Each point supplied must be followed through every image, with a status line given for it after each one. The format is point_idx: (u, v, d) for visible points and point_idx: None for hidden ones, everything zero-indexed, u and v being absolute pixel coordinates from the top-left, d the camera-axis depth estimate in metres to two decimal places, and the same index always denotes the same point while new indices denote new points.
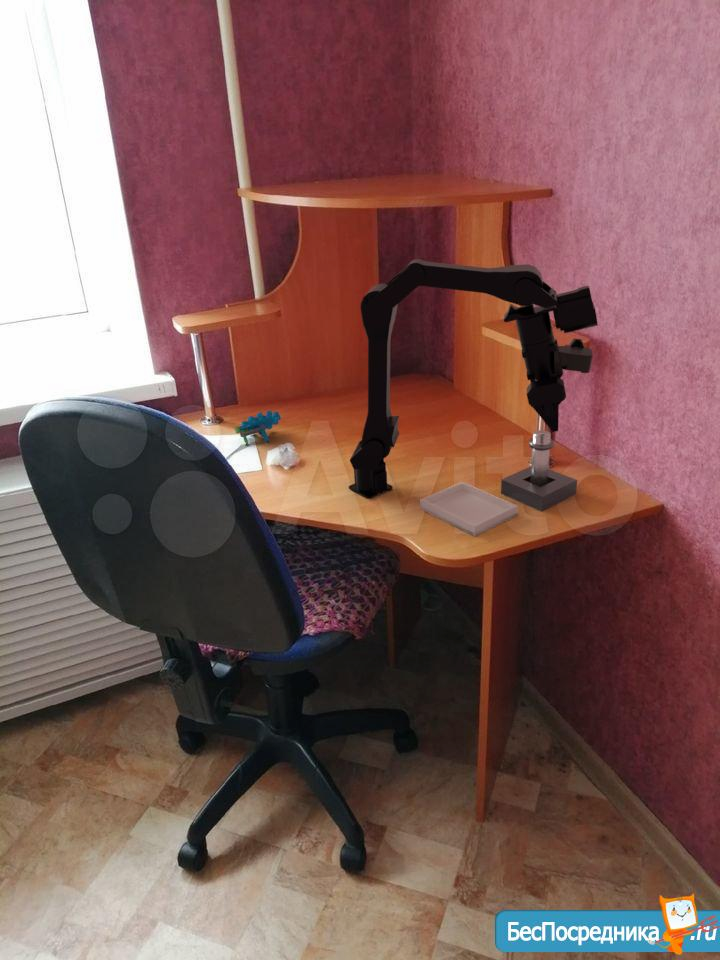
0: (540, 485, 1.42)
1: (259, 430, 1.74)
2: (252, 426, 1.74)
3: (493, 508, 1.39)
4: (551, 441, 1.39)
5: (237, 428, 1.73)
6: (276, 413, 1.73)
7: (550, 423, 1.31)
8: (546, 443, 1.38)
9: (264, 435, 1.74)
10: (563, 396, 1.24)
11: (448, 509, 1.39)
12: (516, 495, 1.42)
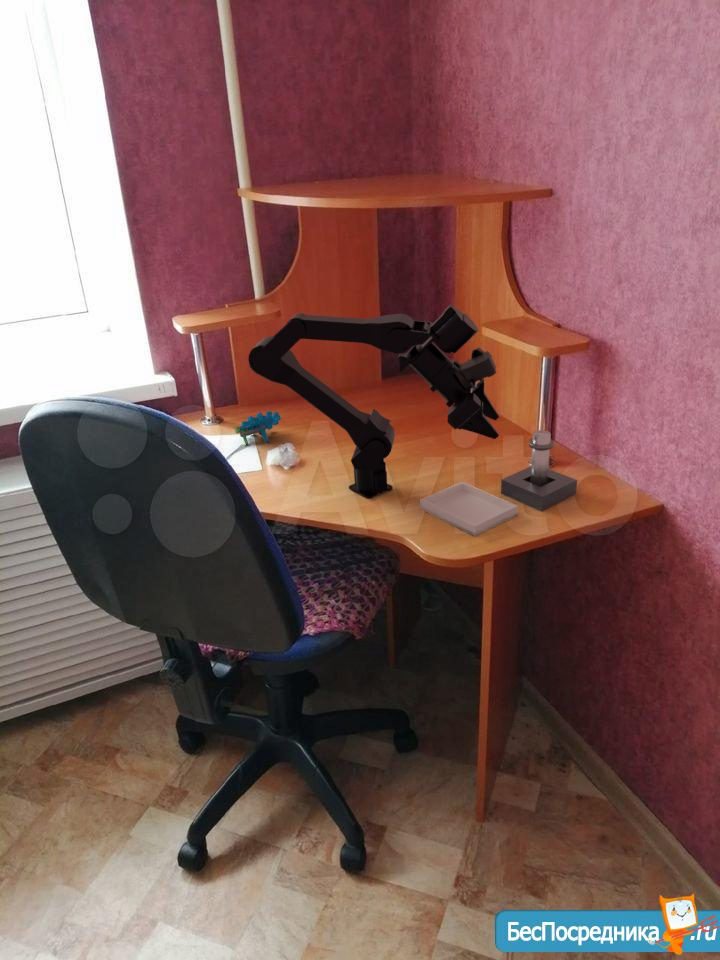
0: (540, 485, 1.42)
1: (258, 430, 1.74)
2: (252, 426, 1.74)
3: (493, 508, 1.39)
4: (551, 441, 1.39)
5: (237, 428, 1.73)
6: (276, 413, 1.73)
7: (487, 433, 1.35)
8: (546, 443, 1.38)
9: (264, 435, 1.74)
10: (477, 407, 1.29)
11: (448, 509, 1.39)
12: (516, 495, 1.42)
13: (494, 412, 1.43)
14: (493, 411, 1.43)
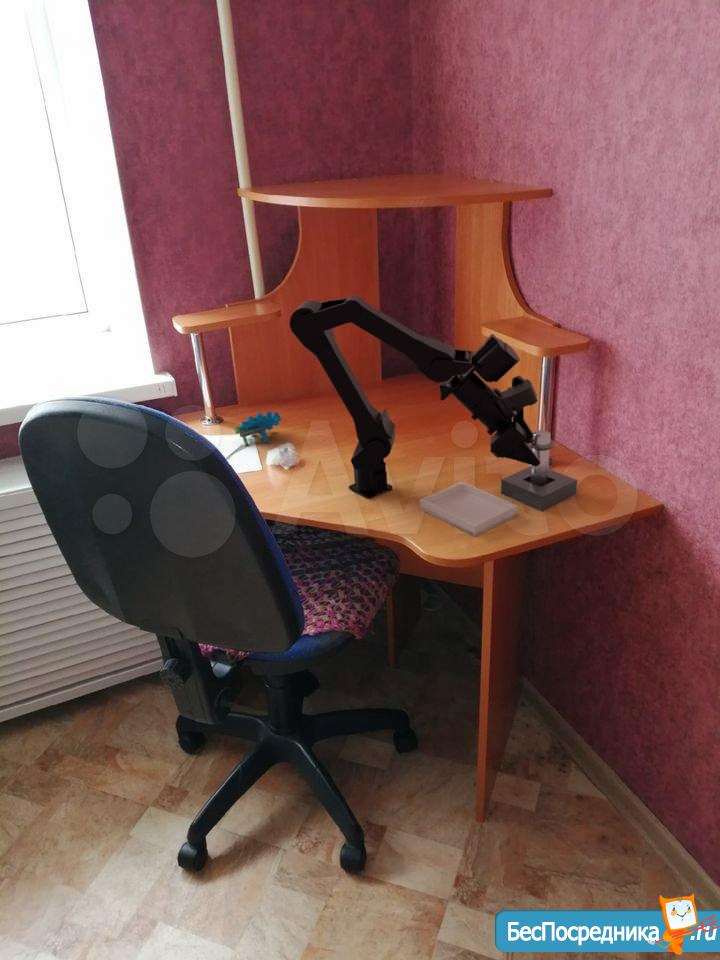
0: (540, 485, 1.42)
1: (258, 430, 1.74)
2: (252, 426, 1.74)
3: (493, 508, 1.39)
4: (551, 441, 1.39)
5: (237, 428, 1.73)
6: (276, 414, 1.73)
7: (529, 461, 1.36)
8: (546, 443, 1.38)
9: (264, 436, 1.74)
10: (520, 437, 1.30)
11: (448, 509, 1.39)
12: (516, 495, 1.42)
13: None
14: (532, 437, 1.44)
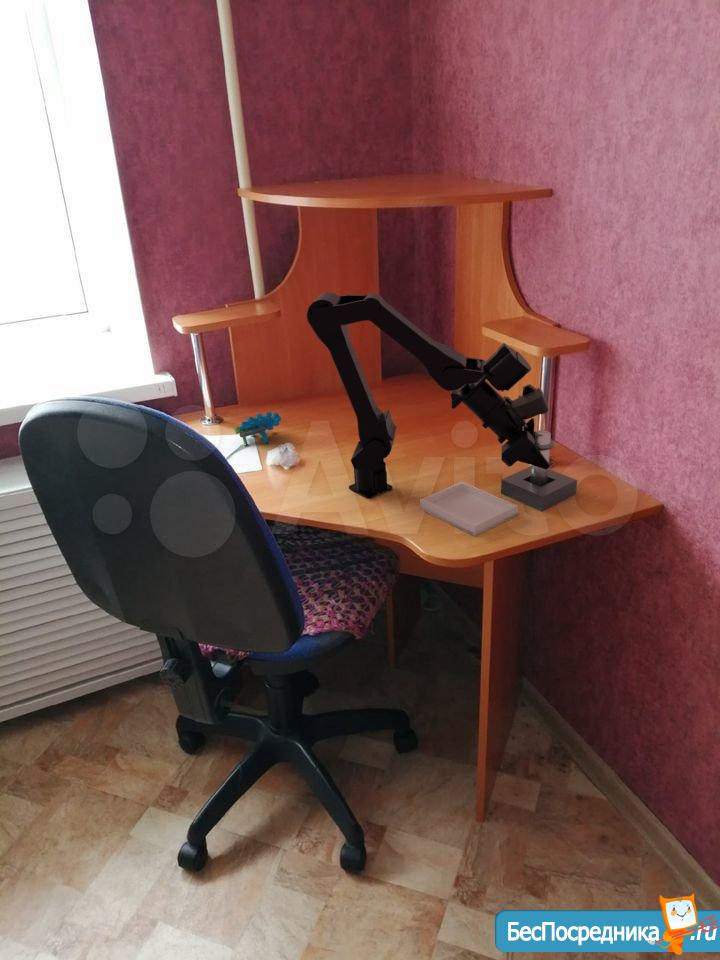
0: (540, 485, 1.42)
1: (258, 431, 1.74)
2: (252, 427, 1.74)
3: (493, 508, 1.39)
4: (551, 441, 1.39)
5: (237, 428, 1.73)
6: (276, 414, 1.73)
7: (539, 464, 1.39)
8: (546, 443, 1.38)
9: (263, 436, 1.73)
10: (532, 446, 1.30)
11: (448, 509, 1.39)
12: (516, 495, 1.42)
13: None
14: None
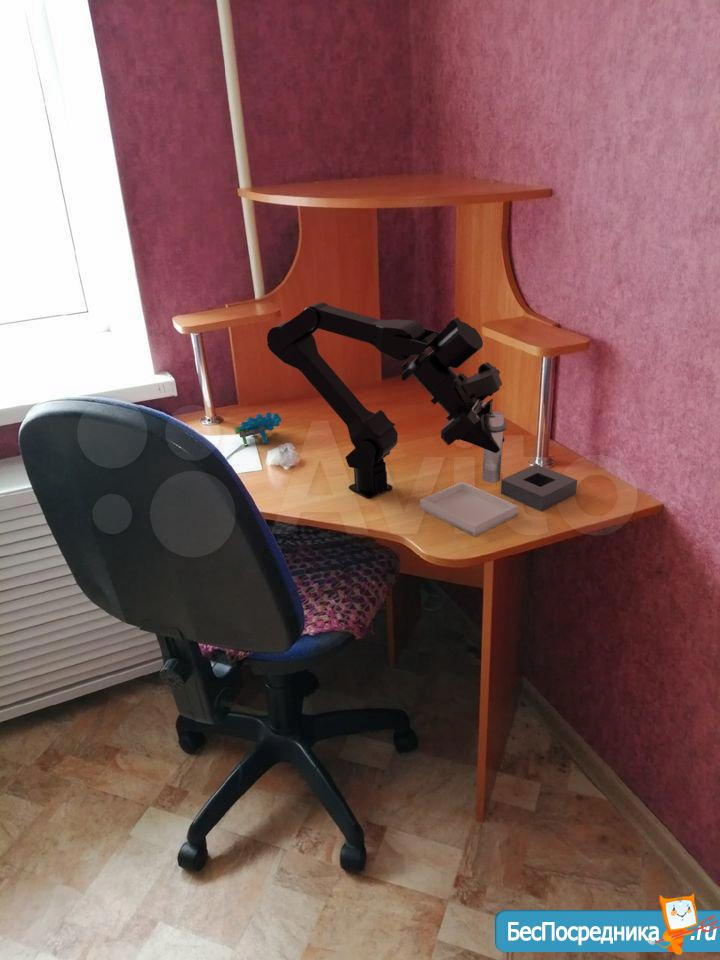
0: (491, 469, 1.35)
1: (258, 431, 1.74)
2: (252, 427, 1.74)
3: (493, 508, 1.39)
4: (504, 424, 1.32)
5: (236, 428, 1.73)
6: (276, 415, 1.73)
7: (488, 446, 1.32)
8: (497, 425, 1.31)
9: (263, 436, 1.73)
10: (471, 425, 1.24)
11: (448, 509, 1.39)
12: (516, 495, 1.42)
13: None
14: None
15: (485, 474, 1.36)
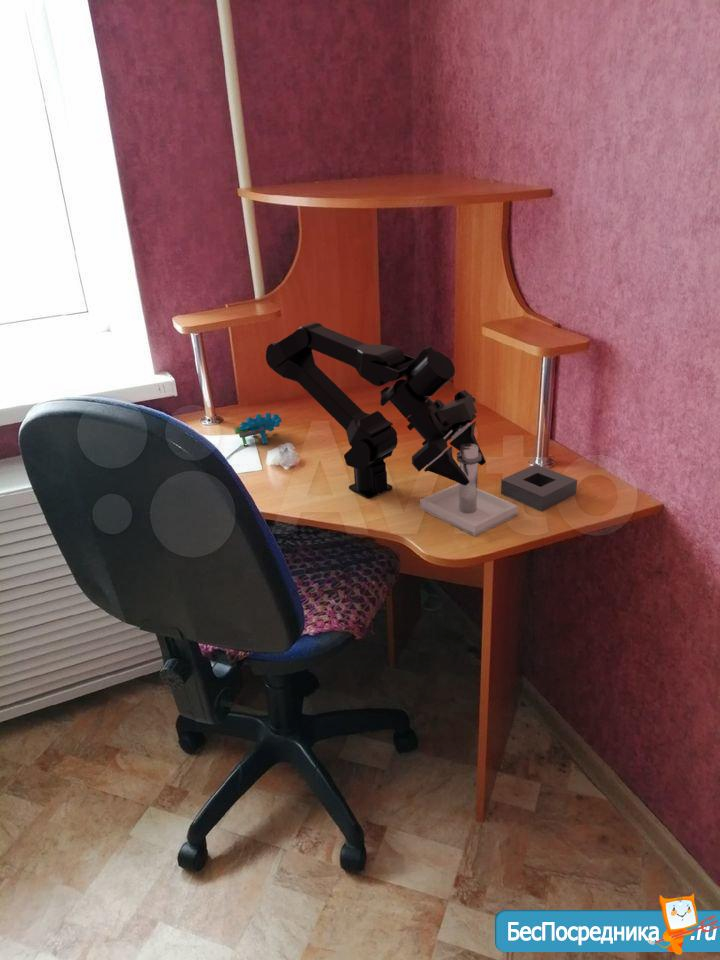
0: (466, 500, 1.36)
1: (258, 431, 1.73)
2: (252, 427, 1.74)
3: (493, 508, 1.39)
4: (479, 456, 1.33)
5: (236, 429, 1.73)
6: (276, 415, 1.72)
7: (457, 478, 1.31)
8: (471, 457, 1.33)
9: (263, 437, 1.73)
10: (438, 453, 1.26)
11: (448, 509, 1.39)
12: (516, 495, 1.42)
13: None
14: None
15: (461, 505, 1.37)
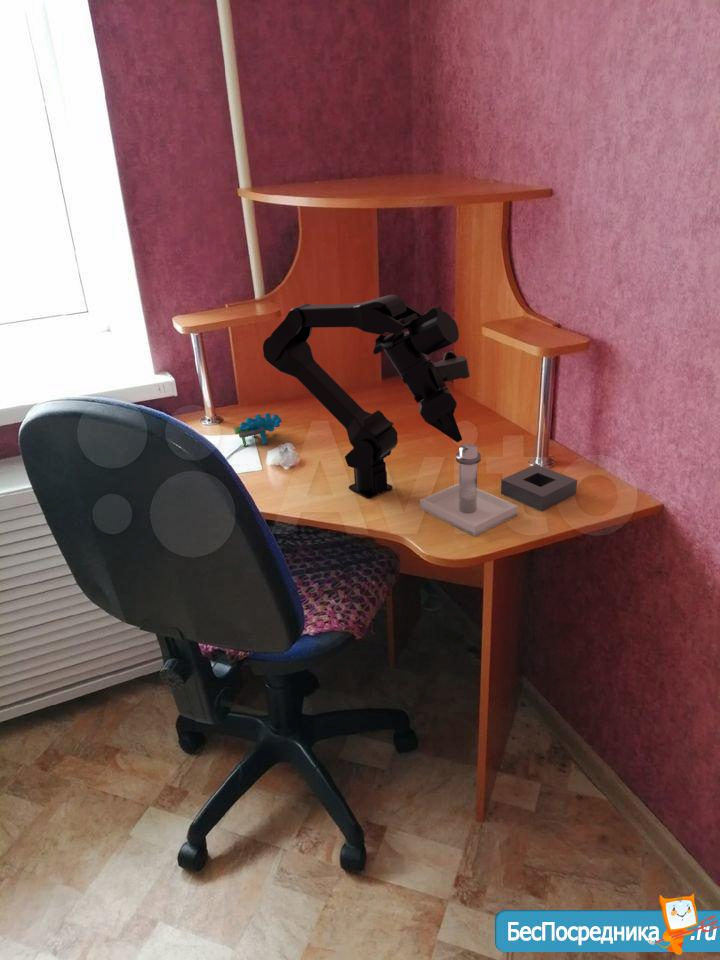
0: (466, 500, 1.36)
1: (258, 432, 1.73)
2: (252, 427, 1.74)
3: (493, 508, 1.39)
4: (478, 456, 1.33)
5: (236, 429, 1.73)
6: (275, 416, 1.72)
7: (452, 434, 1.32)
8: (470, 457, 1.33)
9: (262, 437, 1.73)
10: (454, 403, 1.27)
11: (448, 509, 1.39)
12: (516, 495, 1.42)
13: None
14: None
15: (461, 505, 1.37)
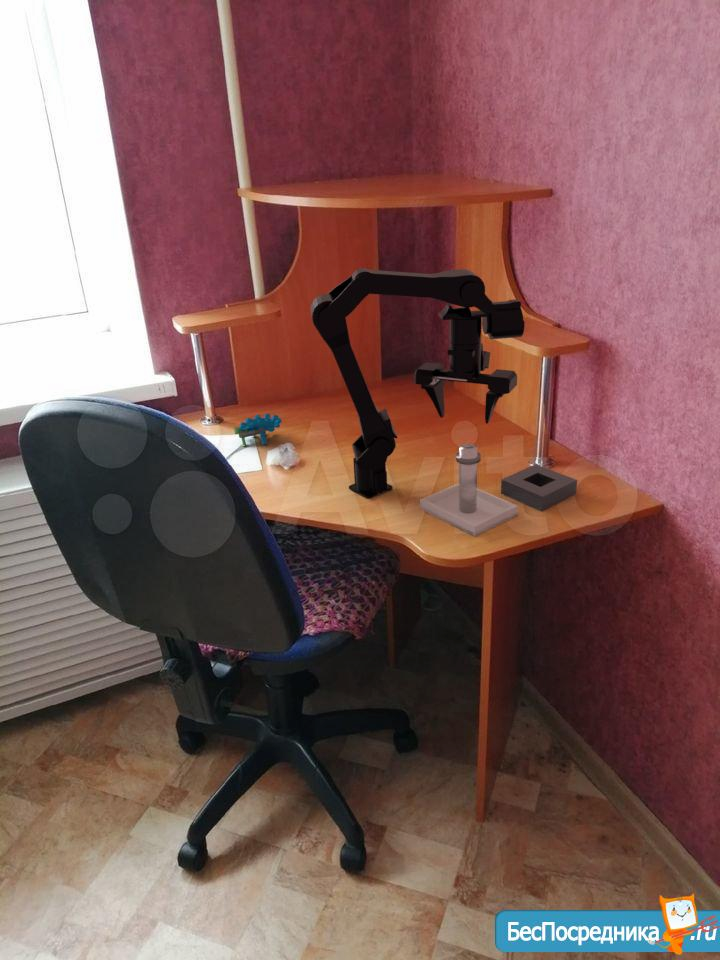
0: (466, 500, 1.36)
1: (257, 432, 1.73)
2: (251, 428, 1.73)
3: (493, 508, 1.39)
4: (478, 456, 1.33)
5: (236, 429, 1.73)
6: (275, 416, 1.72)
7: (490, 414, 1.42)
8: (470, 457, 1.33)
9: (262, 438, 1.72)
10: None
11: (448, 509, 1.39)
12: (516, 495, 1.42)
13: (444, 409, 1.47)
14: (444, 408, 1.47)
15: (461, 505, 1.37)
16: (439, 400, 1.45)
